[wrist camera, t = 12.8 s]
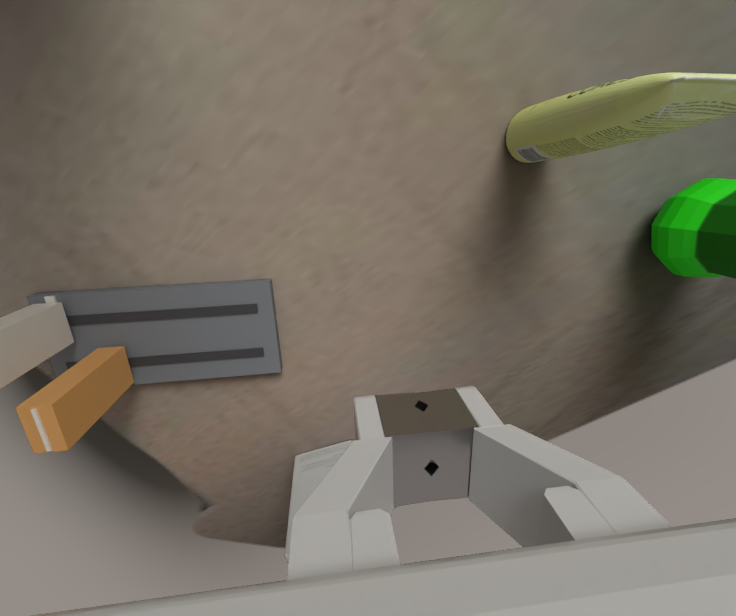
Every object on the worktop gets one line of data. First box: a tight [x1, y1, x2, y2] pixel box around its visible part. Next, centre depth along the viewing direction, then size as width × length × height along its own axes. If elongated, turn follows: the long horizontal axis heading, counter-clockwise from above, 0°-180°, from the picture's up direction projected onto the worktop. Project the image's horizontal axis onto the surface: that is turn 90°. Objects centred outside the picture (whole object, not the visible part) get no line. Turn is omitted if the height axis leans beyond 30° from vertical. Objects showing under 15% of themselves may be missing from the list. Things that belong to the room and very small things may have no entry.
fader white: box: [0, 302, 74, 388], centre depth 29 cm, size 2×4×10 cm, turn 2°
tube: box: [506, 73, 736, 163], centre depth 26 cm, size 6×5×20 cm
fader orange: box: [16, 346, 134, 454], centre depth 31 cm, size 2×4×10 cm, turn 2°
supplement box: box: [284, 440, 352, 564], centre depth 39 cm, size 7×7×13 cm
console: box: [27, 279, 282, 385], centre depth 37 cm, size 22×10×1 cm, turn 92°
